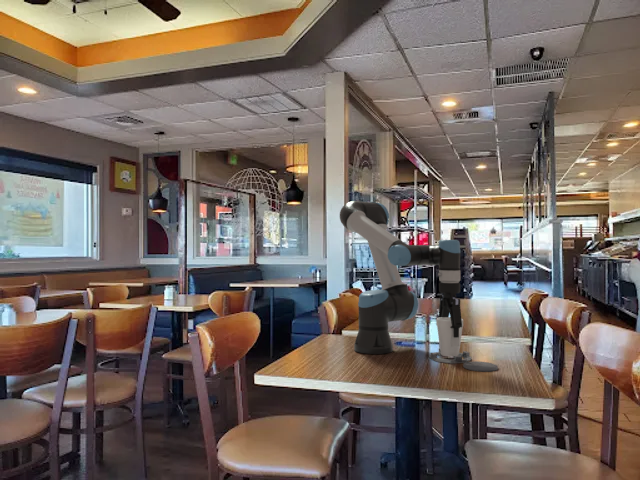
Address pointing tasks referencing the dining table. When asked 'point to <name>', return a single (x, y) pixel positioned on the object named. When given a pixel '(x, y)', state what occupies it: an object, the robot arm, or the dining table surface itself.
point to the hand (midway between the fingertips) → (449, 343)
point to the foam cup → (447, 337)
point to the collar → (456, 360)
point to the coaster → (480, 366)
